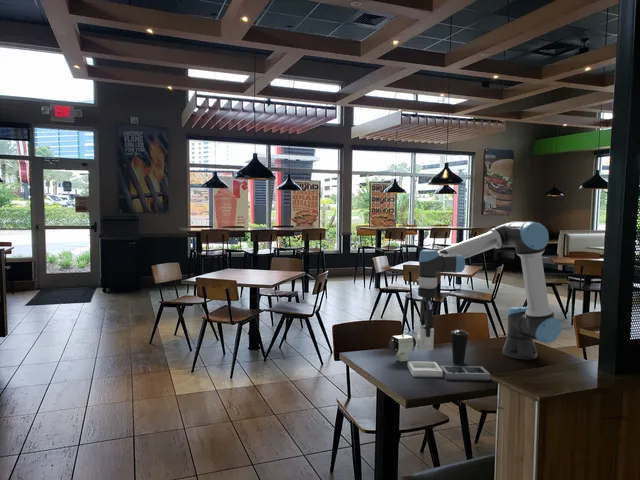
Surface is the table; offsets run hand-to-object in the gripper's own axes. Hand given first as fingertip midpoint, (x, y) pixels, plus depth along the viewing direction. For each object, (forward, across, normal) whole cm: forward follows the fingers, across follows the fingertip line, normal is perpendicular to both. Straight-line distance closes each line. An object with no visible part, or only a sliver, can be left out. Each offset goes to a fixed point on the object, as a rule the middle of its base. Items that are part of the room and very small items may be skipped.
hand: (425, 342), depth 204 cm
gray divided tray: (+13, +4, +16) cm, 21 cm away
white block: (+3, 0, 0) cm, 3 cm away
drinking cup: (+13, -14, +19) cm, 27 cm away
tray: (+13, 0, 0) cm, 13 cm away
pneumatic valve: (+13, -15, -6) cm, 21 cm away
